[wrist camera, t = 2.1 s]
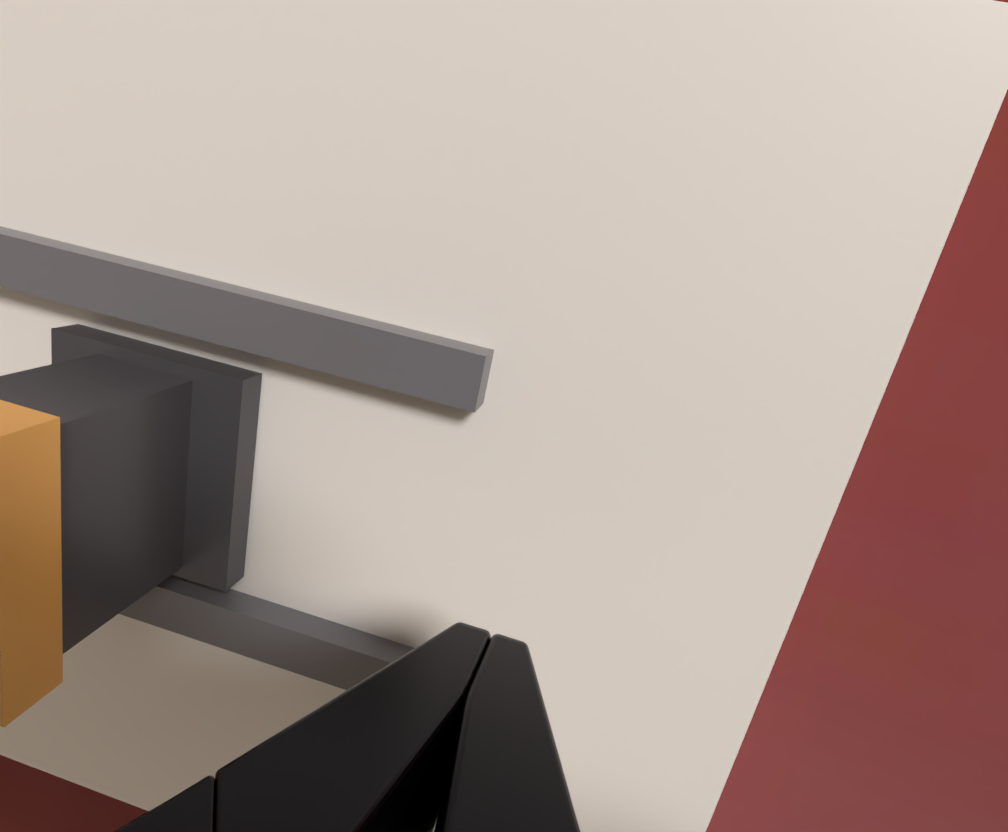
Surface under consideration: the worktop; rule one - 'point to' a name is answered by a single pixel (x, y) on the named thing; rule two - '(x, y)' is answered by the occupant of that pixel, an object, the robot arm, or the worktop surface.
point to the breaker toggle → (113, 491)
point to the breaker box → (488, 339)
